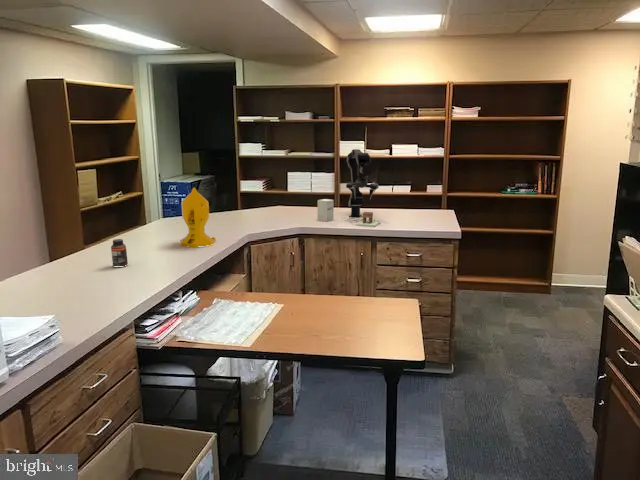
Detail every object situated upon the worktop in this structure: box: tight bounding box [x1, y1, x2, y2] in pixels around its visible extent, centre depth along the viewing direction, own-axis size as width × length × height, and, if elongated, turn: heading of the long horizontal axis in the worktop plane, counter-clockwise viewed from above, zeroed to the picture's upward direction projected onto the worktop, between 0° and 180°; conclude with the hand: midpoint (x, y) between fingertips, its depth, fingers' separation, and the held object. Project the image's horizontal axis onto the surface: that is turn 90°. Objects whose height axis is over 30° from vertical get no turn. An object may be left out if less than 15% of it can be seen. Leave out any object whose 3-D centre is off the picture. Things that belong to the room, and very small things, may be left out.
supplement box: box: [317, 198, 334, 222], centre depth 319 cm, size 7×7×13 cm
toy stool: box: [362, 211, 374, 224], centre depth 306 cm, size 5×5×6 cm
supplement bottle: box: [110, 238, 129, 267], centre depth 218 cm, size 6×6×11 cm
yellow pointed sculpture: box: [179, 187, 217, 247], centre depth 256 cm, size 18×24×28 cm
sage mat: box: [354, 219, 381, 228], centre depth 307 cm, size 12×12×1 cm
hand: (362, 200), depth 314 cm, fingers open, 9 cm apart
